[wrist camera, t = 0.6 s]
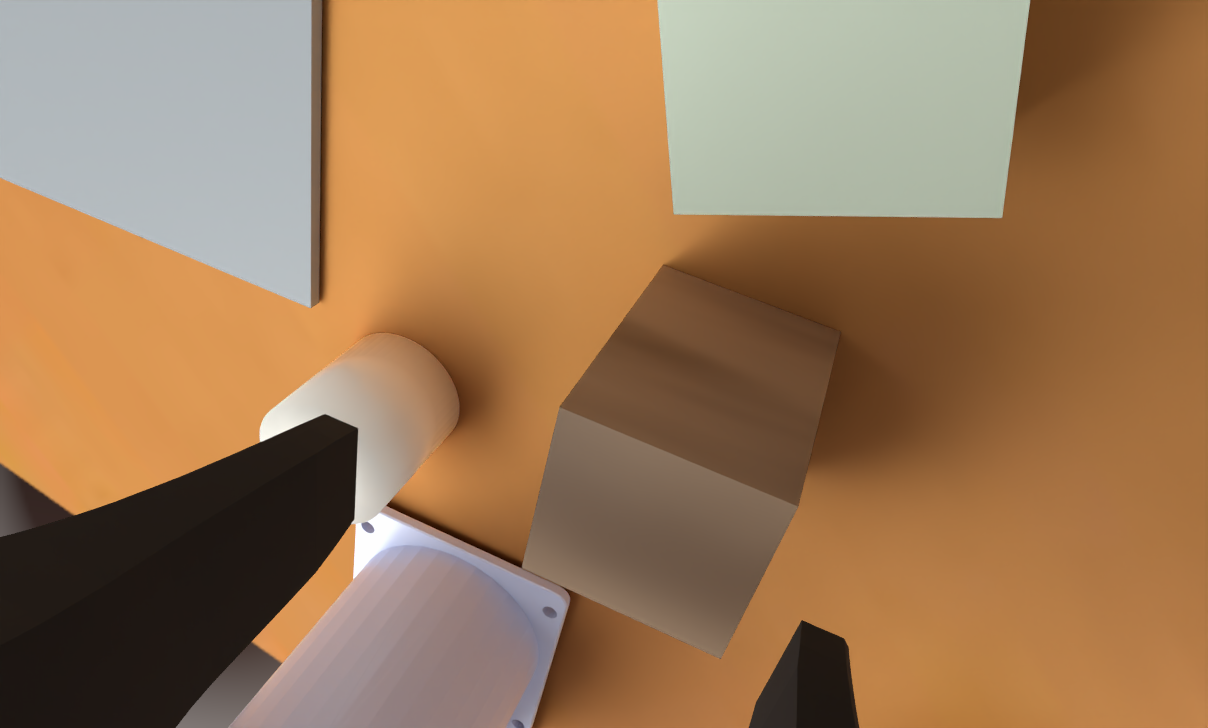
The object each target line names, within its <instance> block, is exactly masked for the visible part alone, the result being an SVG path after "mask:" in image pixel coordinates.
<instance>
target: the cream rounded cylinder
mask: <svg viewBox="0 0 1208 728" xmlns="http://www.w3.org/2000/svg"><path fill="white" fill-rule="evenodd" d="M459 410H460V406H459V398H458V393H457V391H456V388H455V385H454V383H453V381H452V379H451V377H450V375H449V374H448V372H447V371H446V369H445V368H444V367H443V365H442V364H441V363H440V362H439V361H438V360H437V358H436V357H435V356H433V355H432V354H431V353H430V352H429V351H428V350H426V349H425V348H424V347H422V346H421V345H419V344H418V343H416V342H414V341H412V340H410V339H408V338H406V337H403V336H400V335H396V334H392V333H374V334H370V335H367V336H365V337H363V338H361V339H360V340H359V341H357V342H356V343H355V344H353V345H352V346H351V347H350V348H348V349H347V350H346V351H345V352H343V353H342V354H341V355H340V356H338V357H337V358H336V359H335V360H333V361H332V362H331V363H330V364H328V365H327V366H326V367H324V368H323V369H322V370H321V371H319V372H318V373H317V374H316V375H314V376H313V377H312V378H311V379H309V380H308V381H307V382H306V383H304V384H303V385H302V386H301V387H299V388H298V389H297V390H296V391H294V392H293V393H292V394H290V395H289V396H288V397H287V398H285V399H284V400H283V401H282V402H280V403H279V404H278V405H277V406H275V407H274V408H273V409H272V410H270V411H269V412H268V413H267V414H266V416H265V417H264V419H263V421H262V424H261V428H260V442H262V441H264V440H266V439H269V438H271V437H273V436H275V435H278V434H280V433H282V432H284V431H287V430H289V429H291V428H293V427H296V426H298V425H300V424H303V423H305V422H307V421H309V420H312V419H314V418H316V417H319V416H321V415H323V414H327V415H329V416H331V417H333V418H336V419H338V420H340V421H343V422H345V423H347V424H350V425H352V426H354V427H357V428H358V447H357V471H356V496H355V519H354V521H353V522H352V523H351V524H360V523H364V522H367V521H370V520H371V519H373V518H374V517H376V516H377V515H378V514H379V513H380V512H381V510H382V509H383V508H384V507H385V506H386V505H387V504H388V503H389V502H390V500H391V499H392V498H393V497H394V496H395V495H396V494H397V493H398V491H399V490H400V489H401V488H402V487H403V486H404V485H405V484H406V482H407V481H408V480H409V479H410V478H411V477H412V476H413V475H414V473H415V472H416V471H417V470H418V469H419V468H420V467H421V466H422V465H423V463H424V462H425V461H426V460H427V459H428V458H429V457H430V456H431V454H432V453H433V452H434V451H435V450H436V449H437V448H438V447H439V445H440V444H441V443H442V442H443V441H444V440H445V439H446V438H447V437H448V435H449V434H450V433H451V432H452V431H453V429H454V428H455V426H456V424H457V421H458V418H459Z"/></svg>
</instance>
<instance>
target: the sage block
mask: <svg viewBox="0 0 1208 728" xmlns="http://www.w3.org/2000/svg"><path fill="white" fill-rule="evenodd" d="M1029 6H1030V0H658V13H659V26H660V40H661V53H662V66H663V79H664V93H665V106H666V119H667V132H668V146H669V159H670V172H671V185H672V199H673V212H674V214H687V215H777V216H868V217H959V218H1002V215H1003V207H1004V200H1005V192H1006V184H1007V176H1008V169H1009V161H1010V153H1011V145H1012V138H1013V130H1014V122H1015V114H1016V107H1017V99H1018V91H1019V83H1020V76H1021V68H1022V60H1023V52H1024V45H1025V37H1026V29H1027V21H1028V14H1029Z"/></svg>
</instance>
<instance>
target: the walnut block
mask: <svg viewBox="0 0 1208 728" xmlns="http://www.w3.org/2000/svg"><path fill="white" fill-rule="evenodd" d="M840 334H841V332H840V331H838V330H835V329H832V328H830V327H827V326H824V325H822V324H819V323H816V322H814V321H811V320H808V319H806V318H803V317H800V316H798V315H795V314H792V313H790V312H787V311H784V310H782V309H779V308H776V307H774V306H771V305H768V304H766V303H763V302H761V301H758V300H755V299H753V298H750V297H747V296H745V295H742V294H739V293H737V292H734V291H731V290H729V289H726V288H723V287H721V286H718V285H715V284H713V283H710V282H707V281H705V280H702V279H699V278H697V277H694V276H691V275H689V274H686V273H683V272H681V271H678V270H676V269H673V268H670V267H668V266H665V265H663V266H662V267H661V269H660V270H659V271H658V273H657V274H656V276H655V277H654V278H653V280H652V281H651V282H650V284H649V285H648V286H647V288H646V289H645V291H644V292H643V293H642V295H641V296H640V297H639V299H638V300H637V302H636V303H635V304H634V306H633V307H632V308H631V310H630V311H629V313H628V314H627V315H626V317H625V318H624V319H623V321H622V322H621V324H620V325H619V326H618V328H617V329H616V330H615V332H614V333H613V335H612V336H611V337H610V339H609V340H608V341H607V343H606V344H605V346H604V347H603V348H602V350H601V351H600V352H599V354H598V355H597V357H596V358H595V359H594V361H593V362H592V363H591V365H590V366H589V368H588V369H587V370H586V372H585V373H584V374H583V376H582V377H581V378H580V380H579V381H578V383H577V384H576V385H575V387H574V388H573V389H572V391H571V392H570V394H569V395H568V396H567V398H566V399H565V400H564V402H563V403H562V405H561V406H560V408H559V412H558V416H557V420H556V425H555V429H554V433H553V437H552V441H551V446H550V450H549V454H548V458H547V463H546V467H545V471H544V475H543V479H542V484H541V488H540V492H539V496H538V501H537V505H536V509H535V513H534V518H533V522H532V526H531V530H530V534H529V539H528V543H527V547H526V551H525V556H524V560H523V564H522V568H523V569H525V570H527V571H529V572H532V573H534V574H536V575H538V576H540V577H543V578H545V579H547V580H549V581H551V582H553V583H556V584H558V585H560V586H562V587H564V588H567V589H569V590H571V591H573V592H575V593H577V594H580V595H582V596H584V597H586V598H588V599H591V600H593V601H595V602H597V603H599V604H601V605H604V606H606V607H608V608H610V609H612V610H615V611H617V612H619V613H621V614H623V615H626V616H628V617H630V618H632V619H634V620H636V621H639V622H641V623H643V624H645V625H647V626H650V627H652V628H654V629H656V630H658V631H660V632H663V633H665V634H667V635H669V636H671V637H674V638H676V639H678V640H680V641H682V642H684V643H687V644H689V645H691V646H693V647H695V648H698V649H700V650H702V651H704V652H706V653H708V654H711V655H713V656H715V657H717V658H719V659H721V657H722V656H723V654H724V652H725V650H726V648H727V646H728V644H729V642H730V640H731V638H732V636H733V634H734V632H735V630H736V628H737V626H738V624H739V622H740V620H741V618H742V616H743V614H744V612H745V610H746V608H747V606H748V604H749V602H750V600H751V599H752V597H753V595H754V593H755V591H756V589H757V587H758V585H759V583H760V581H761V579H762V577H763V575H764V573H765V571H766V569H767V567H768V565H769V563H770V561H771V559H772V557H773V555H774V553H775V551H776V549H777V547H778V545H779V543H780V542H781V540H782V538H783V536H784V534H785V532H786V530H787V528H788V526H789V524H790V522H791V520H792V518H793V516H794V514H795V512H796V510H797V508H798V506H799V501H800V497H801V493H802V489H803V485H804V481H805V477H806V473H807V469H808V465H809V461H810V456H811V452H812V448H813V444H814V440H815V436H816V432H817V428H818V424H819V420H820V415H821V411H822V407H823V403H824V399H825V395H826V391H827V387H828V383H829V379H830V375H831V370H832V366H833V362H834V358H835V354H836V350H837V346H838V342H839V338H840Z"/></svg>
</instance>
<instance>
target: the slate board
mask: <svg viewBox="0 0 1208 728" xmlns="http://www.w3.org/2000/svg"><path fill="white" fill-rule="evenodd" d="M321 62H322V0H0V178H2V179H4V180H7V181H9V182H11V183H14V184H16V185H19V186H21V187H23V188H26V189H28V190H31V191H33V192H35V193H38V194H40V195H42V196H45V197H47V198H50V199H52V200H54V201H57V202H59V203H61V204H64V205H66V206H69V207H71V208H73V209H76V210H78V211H80V212H83V213H85V214H88V215H90V216H92V217H95V218H97V219H100V220H102V221H104V222H107V223H109V224H111V225H114V226H116V227H119V228H121V229H123V230H126V231H128V232H130V233H133V234H135V235H138V236H140V237H142V238H145V239H147V240H150V241H152V242H154V243H157V244H159V245H161V246H164V247H166V248H169V249H171V250H173V251H176V252H178V253H180V254H183V255H185V256H188V257H190V258H192V259H195V260H197V261H199V262H202V263H204V264H207V265H209V266H211V267H214V268H216V269H219V270H221V271H223V272H226V273H228V274H230V275H233V276H235V277H238V278H240V279H242V280H245V281H247V282H249V283H252V284H254V285H257V286H259V287H261V288H264V289H266V290H269V291H271V292H273V293H276V294H278V295H280V296H283V297H285V298H288V299H290V300H292V301H295V302H297V303H299V304H302V305H304V306H307V307H309V308H312V307H313V306H315V305H316V304H318V303H319V265H320V163H321Z"/></svg>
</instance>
